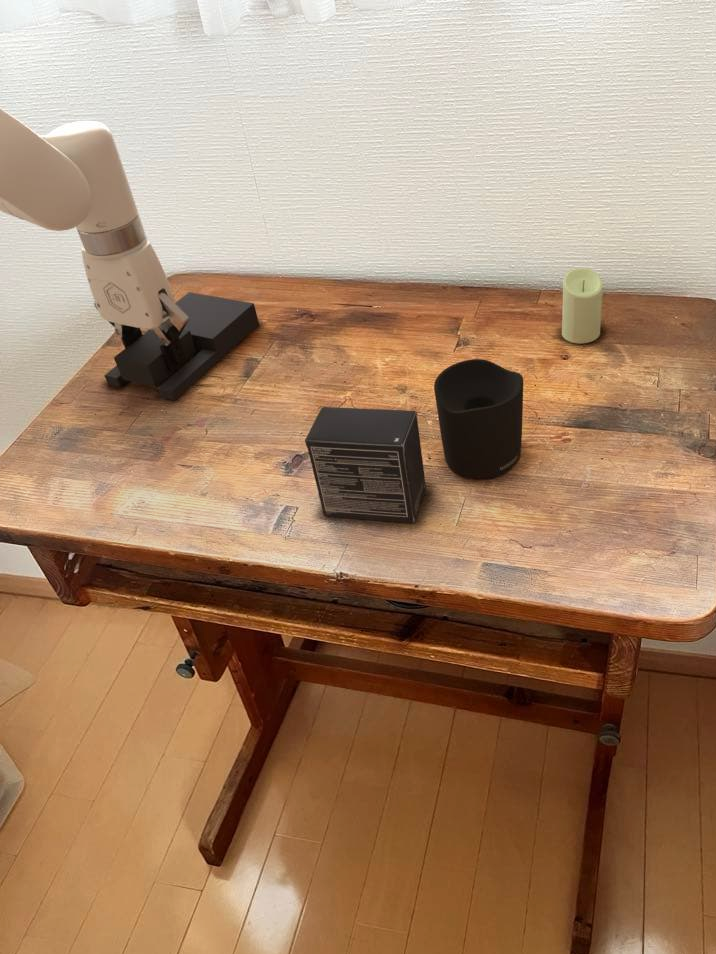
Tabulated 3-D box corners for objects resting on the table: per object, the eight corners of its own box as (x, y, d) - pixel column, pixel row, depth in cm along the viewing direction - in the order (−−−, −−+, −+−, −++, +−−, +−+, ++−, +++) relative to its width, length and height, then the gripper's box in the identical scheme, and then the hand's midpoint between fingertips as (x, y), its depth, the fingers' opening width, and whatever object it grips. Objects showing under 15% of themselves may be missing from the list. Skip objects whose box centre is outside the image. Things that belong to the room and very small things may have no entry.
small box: (428, 484, 92) (419, 407, 85) (415, 525, 88) (404, 447, 81) (338, 478, 95) (321, 402, 88) (321, 517, 90) (302, 441, 83)
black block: (156, 387, 111) (147, 365, 108) (122, 379, 113) (113, 357, 111) (197, 352, 116) (190, 330, 114) (164, 345, 118) (156, 323, 116)
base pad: (174, 400, 110) (166, 378, 108) (107, 384, 115) (98, 362, 112) (259, 324, 122) (254, 303, 120) (195, 312, 127) (189, 291, 124)
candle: (605, 339, 109) (609, 281, 103) (569, 347, 109) (571, 289, 103) (591, 321, 113) (594, 264, 107) (556, 328, 112) (557, 272, 107)
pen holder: (446, 488, 92) (439, 415, 85) (437, 437, 98) (429, 365, 91) (531, 477, 91) (531, 402, 84) (516, 426, 98) (514, 353, 91)
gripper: (40, 240, 103) (93, 365, 115) (146, 256, 96) (190, 388, 108) (82, 214, 107) (129, 337, 120) (186, 228, 100) (224, 358, 113)
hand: (158, 360), depth 114 cm, fingers closed on black block, 6 cm apart
